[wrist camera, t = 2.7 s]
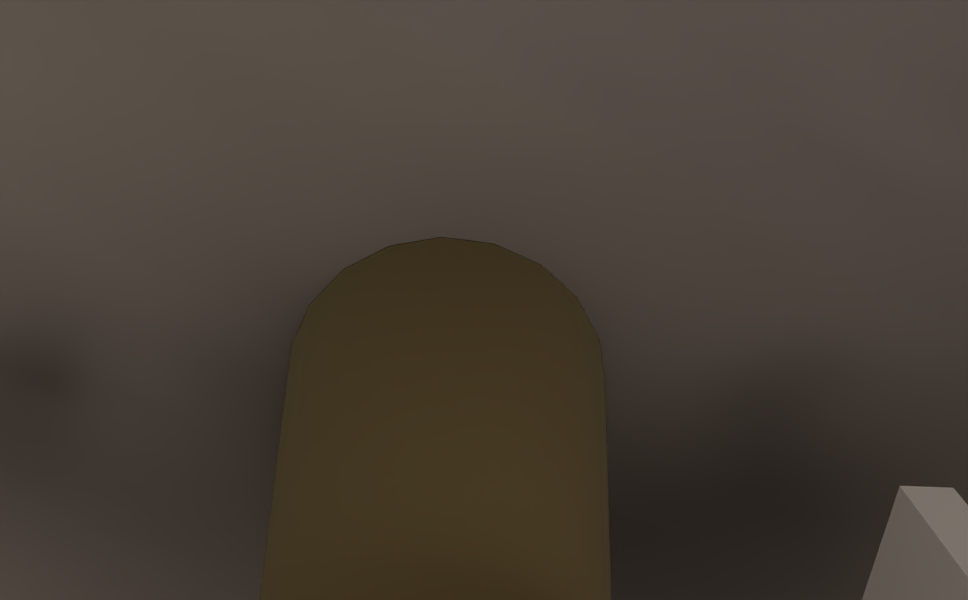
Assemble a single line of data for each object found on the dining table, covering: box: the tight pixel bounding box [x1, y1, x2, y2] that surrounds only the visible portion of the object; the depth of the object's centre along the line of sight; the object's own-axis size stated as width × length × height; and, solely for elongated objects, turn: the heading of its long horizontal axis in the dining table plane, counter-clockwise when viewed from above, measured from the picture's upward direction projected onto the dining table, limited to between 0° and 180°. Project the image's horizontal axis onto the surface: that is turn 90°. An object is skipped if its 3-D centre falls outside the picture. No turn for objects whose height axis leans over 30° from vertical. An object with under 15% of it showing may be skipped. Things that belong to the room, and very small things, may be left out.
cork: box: [260, 237, 611, 600], centre depth 11 cm, size 6×6×11 cm
